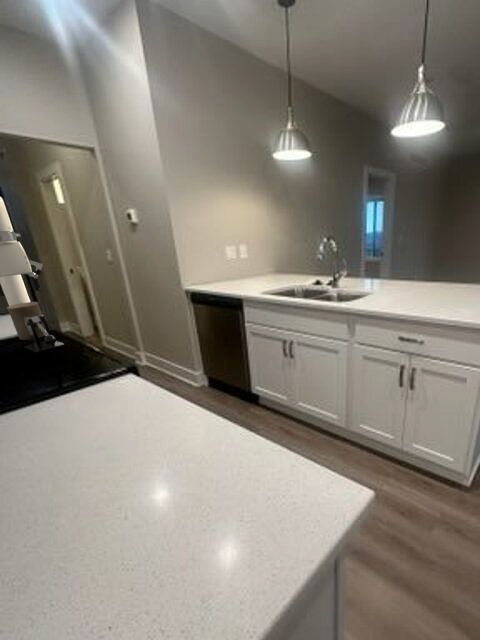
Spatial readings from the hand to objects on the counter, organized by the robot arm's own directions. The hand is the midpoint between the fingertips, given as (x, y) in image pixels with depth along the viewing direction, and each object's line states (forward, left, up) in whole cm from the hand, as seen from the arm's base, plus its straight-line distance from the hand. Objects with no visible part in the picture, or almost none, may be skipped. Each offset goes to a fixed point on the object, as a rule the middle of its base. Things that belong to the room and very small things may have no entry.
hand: (19, 292), depth 113 cm
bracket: (+1, +4, -21) cm, 21 cm away
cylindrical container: (-10, +32, -21) cm, 39 cm away
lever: (+2, +1, -15) cm, 15 cm away
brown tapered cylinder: (-6, +21, -21) cm, 30 cm away
